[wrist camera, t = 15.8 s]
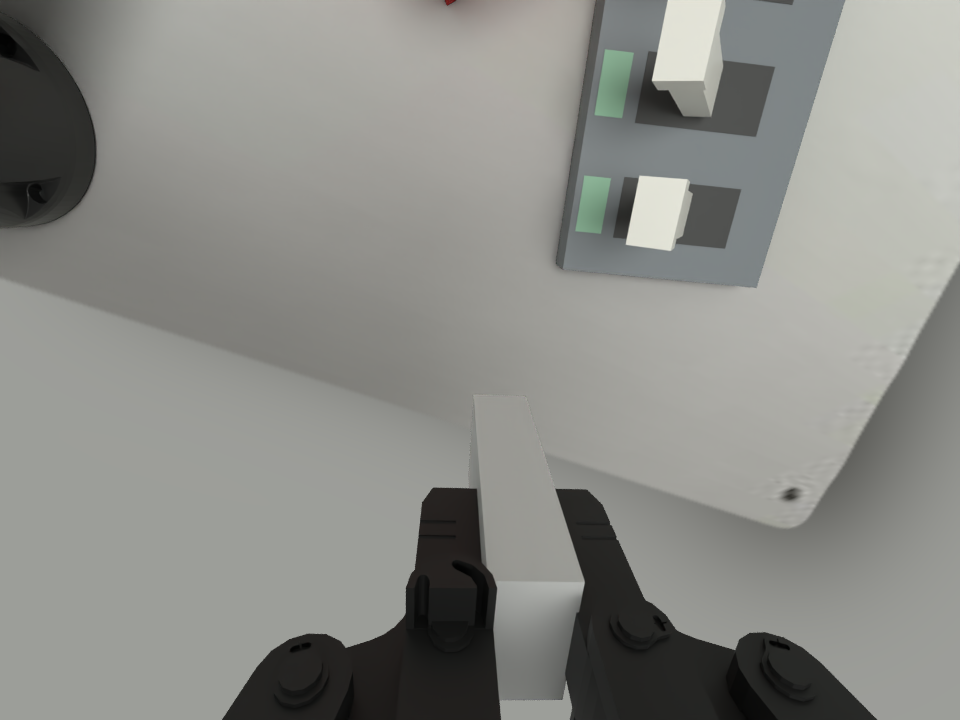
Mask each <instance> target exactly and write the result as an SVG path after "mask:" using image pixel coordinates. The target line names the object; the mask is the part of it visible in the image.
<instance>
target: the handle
mask: <svg viewBox="0 0 960 720" xmlns="http://www.w3.org/2000/svg"><path fill="white" fill-rule="evenodd" d="M725 7H726V5H725V0H668V2H667V7H666V12H665V17H664V22H663V27H662V32H661V37H660V42H659V47H658V52H657V58H656V63H655V68H654V73H653V78H652V82H653V84H654V85H655V87H656V88H657V90H669V92H670V94H671V95H672V97H673V99H674V101H675V102H676V104H677V106H678V108H679V109H680V111H681V113H682V115H683V116H692V117H711V115H712V111H713V107H714V103H715V99H716V94H717V90H718V86H719V82H720V78H721V74H722V70H723V61H722V52H721V43H720V34H719V33H720V28H721V24H722V20H723V16H724V11H725Z"/></svg>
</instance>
